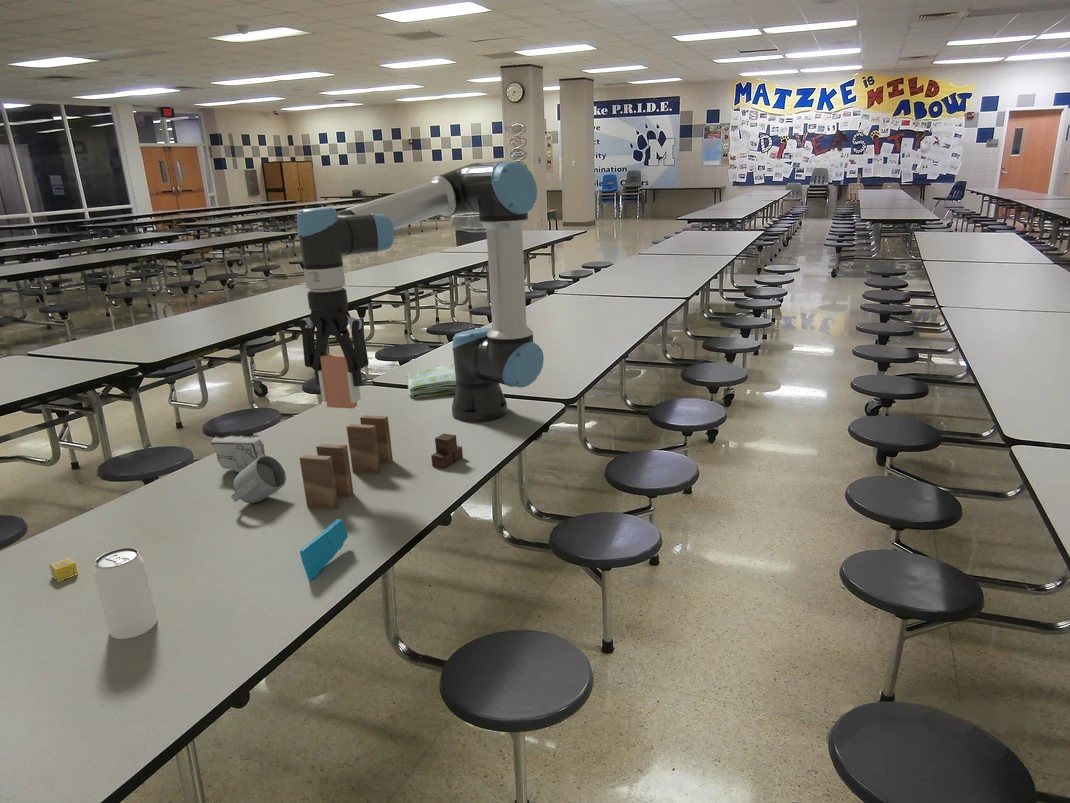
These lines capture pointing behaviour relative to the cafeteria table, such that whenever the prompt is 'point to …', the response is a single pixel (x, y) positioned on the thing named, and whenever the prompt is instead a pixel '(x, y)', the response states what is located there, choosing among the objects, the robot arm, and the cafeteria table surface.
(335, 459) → the domino
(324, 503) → the domino
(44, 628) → the cafeteria table surface
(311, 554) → the sponge
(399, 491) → the cafeteria table surface
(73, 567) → the small yellow block
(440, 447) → the stack of crates
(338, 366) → the domino
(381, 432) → the domino
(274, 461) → the ceramic mug
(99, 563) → the can
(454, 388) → the towel
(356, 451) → the domino
